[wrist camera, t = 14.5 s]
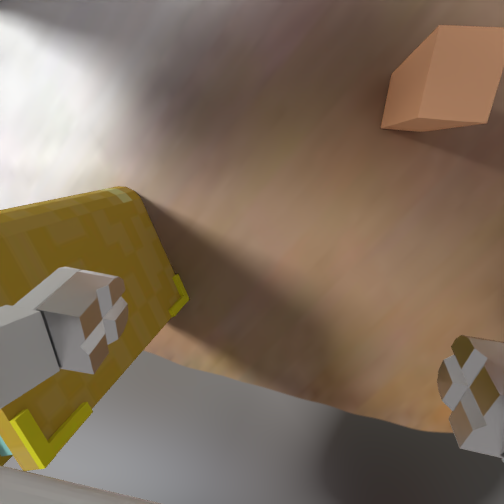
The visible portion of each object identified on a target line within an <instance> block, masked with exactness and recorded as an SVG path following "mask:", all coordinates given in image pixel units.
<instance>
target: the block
mask: <svg viewBox="0 0 504 504" xmlns="http://www.w3.org/2000/svg"><path fill="white" fill-rule="evenodd" d="M503 68H504V28H503V27H478V26H453V25H439V26H438V27H437V28H436V29H435V30H434V31H433V32H432V33H431V34H430V35H429V36H428V37H427V38H426V39H425V40H424V41H423V42H422V43H421V44H420V45H419V46H418V47H417V48H416V49H415V50H414V51H413V52H412V53H411V54H410V55H409V57H408V58H407V59H406V60H405V61H404V62H403V63H402V64H401V65H400V66H399V67H398V68H397V69H396V70H395V71H394V72H393V73H392V74H391V79H390V84H389V89H388V94H387V99H386V104H385V108H384V113H383V118H382V123H381V128H383V129H394V130H405V131H417V132H425V131H433V130H440V129H448V128H455V127H463V126H470V125H478V124H485V123H487V121H488V118H489V115H490V111H491V108H492V105H493V101H494V98H495V95H496V91H497V88H498V85H499V81H500V78H501V75H502V71H503Z"/></svg>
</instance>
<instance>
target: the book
mask: <svg viewBox="0 0 504 504" xmlns="http://www.w3.org/2000/svg"><path fill="white" fill-rule="evenodd" d="M61 267H70V268H75V269H80V270H87V271H93V272H98V273H103V274H108V275H113V276H118V277H120V278H122V279H123V280H124V285H125V292H124V293H123V294H122V295H121V297H122V298H123V299H124V300H125V301H126V303H127V304H128V311H129V312H128V321H127V324H126V327H125V329H124V332H123V333H122V335H121V336H120V338H119V339H118V340H116V341H114V342H112V343H111V344H109V345H108V349H109V354H108V355H107V356H106V358H105V359H104V361H103V362H102V364H101V365H100V367H99V368H98V369H97V371H96V372H95V374H88V373H82V372H77V371H71V370H65V369H60V371H59V372H57V373H56V374H54V375H52V376H51V377H49V378H48V379H46V380H45V381H43V382H42V383H40V384H38V385H37V386H35V387H34V388H32V389H31V390H29V391H28V392H26V393H24V394H23V395H21V396H20V397H18V398H17V399H15V400H14V401H12V402H10V403H9V404H7V405H6V406H4V407H3V408H1V409H0V466H3V465H4V464H5V463H6V462H7V461H8V460H9V459H10V458H11V457H12V456H14V457H15V459H16V460H17V462H18V463H19V465H20V467H21V468H22V469H23V471H29V470H36V469H44V468H46V467H47V465H48V464H49V463H50V462H51V461H52V460H53V459H54V457H55V456H56V454H57V453H58V452H59V451H60V450H61V449H62V447H63V446H64V445H65V444H66V443H67V442H68V440H69V439H70V438H71V437H72V436H73V435H74V433H75V432H76V431H77V430H78V429H79V427H80V426H81V425H82V424H83V423H84V421H86V419H87V418H88V417H89V416H90V415H91V413H92V412H93V411H92V408H93V407H94V406H95V405H96V404H97V402H98V401H99V400H100V399H101V398H102V397H103V396H104V395H105V393H106V392H107V391H108V390H109V389H110V387H111V386H112V385H113V384H114V383H115V382H116V381H117V380H118V378H119V377H120V376H121V375H122V374H123V373H124V371H125V370H126V369H127V368H128V367H129V366H130V365H131V363H132V362H133V361H134V360H135V359H136V358H137V357H138V355H139V354H140V353H141V352H142V351H143V350H144V349H145V347H146V346H147V345H148V344H149V343H150V342H151V341H152V339H153V338H154V337H155V336H156V335H157V334H158V332H159V331H160V330H161V329H162V328H163V327H164V326H165V324H166V323H167V322H168V321H169V320H170V319H171V318H172V317H174V316H175V315H176V314H177V313H178V312H179V311H180V310H181V308H182V307H183V306H184V305H185V304H186V303H187V302H188V301H189V300H190V299H189V297H188V295H187V292H186V290H185V288H184V286H183V283H182V281H181V279H180V277H179V274H176V275H175V273H174V271H173V269H172V267H171V264H170V262H169V260H168V258H167V256H166V253H165V251H164V249H163V247H162V244H161V242H160V240H159V238H158V235H157V233H156V231H155V229H154V227H153V224H152V222H151V220H150V218H149V215H148V213H147V211H146V209H145V206H144V204H143V202H142V200H141V198H140V197H139V196H138V194H137V193H136V192H135V191H133V190H131V189H129V188H127V187H113V188H108V189H103V190H98V191H93V192H88V193H83V194H78V195H73V196H68V197H63V198H58V199H53V200H48V201H43V202H38V203H33V204H28V205H23V206H18V207H13V208H9V209H4V210H0V307H2V306H5V305H10V306H13V305H14V304H16V303H17V302H18V301H19V300H20V299H22V298H23V297H24V296H25V295H27V294H28V293H29V292H30V291H31V290H33V289H34V288H35V287H36V286H37V285H39V284H40V283H41V282H42V281H44V280H45V279H46V278H47V277H48V276H50V275H51V274H52V273H53V272H54V271H56V270H57V269H58V268H61Z"/></svg>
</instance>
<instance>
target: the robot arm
mask: <svg viewBox="0 0 504 504" xmlns="http://www.w3.org/2000/svg"><path fill="white" fill-rule="evenodd" d="M124 292H125V285H124V280H123V279H122V278H120V277H118V276H113V275H108V274H103V273H98V272H93V271H87V270H80V269H75V268H70V267H61V268H58V269H57V270H56V271H54V272H53V273H52V274H51V275H50V276H48V277H47V278H46V279H45V280H44V281H42V282H41V283H40V284H39V285H37V286H36V287H35V288H34V289H33V290H31V291H30V292H29V293H28V294H27V295H25V296H24V297H23V298H22V299H20V300H19V301H18V302H17V303H16V304H14V305H13V306H10V305H5V306H2V307H0V409H1V408H3V407H4V406H6V405H7V404H9V403H10V402H12V401H14V400H15V399H17V398H18V397H20V396H21V395H23V394H24V393H26V392H28V391H29V390H31V389H32V388H34V387H35V386H37V385H38V384H40V383H42V382H43V381H45V380H46V379H48V378H49V377H51V376H52V375H54V374H56V373H57V372H59V371H60V369H65V370H71V371H77V372H82V373H88V374H95V372H96V371H97V369H98V368H99V367H100V365H101V364H102V362H103V361H104V359H105V358H106V356H107V355H108V354H109V349H108V345H109V344H111V343H112V342H114V341H116V340H118V339H119V338H120V336H121V335H122V333H123V332H124V329H125V327H126V324H127V321H128V312H129V311H128V304H127V303H126V301H125V300H124V299H123V298H122V297H121V295H122V294H123V293H124ZM451 348H452V350H453V353H454V355H452V356H451V357H449V358H447V359H445V360H443V362H442V364H441V366H440V368H439V371H438V379H437V383H438V390H439V393H440V396H441V399H442V401H443V402H444V403H445V404H446V405H447V406H448V407H449V408H450V409H451V410H452V413H451V415H450V417H449V421H450V424H451V426H452V429H453V432H454V434H455V437H456V439H457V442H458V445H459V448H461V449H466V450H470V451H474V452H479V453H483V454H487V455H491V456H496V457H500V458H503V459H502V461H503V462H504V342H501V341H494V340H488V339H482V338H476V337H470V336H464V335H461V336H459V337H458V338H456V339H455V341H454V343H453V344H452V346H451ZM0 504H161V503H157V502H152V501H148V500H144V499H140V498H136V497H131V496H127V495H123V494H119V493H115V492H110V491H106V490H102V489H97V488H93V487H89V486H85V485H81V484H76V483H72V482H68V481H64V480H59V479H55V478H51V477H46V476H43V475H38V474H34V473H30V472H26V471H21V470H17V469H13V468H8V467H4V466H0Z"/></svg>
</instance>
